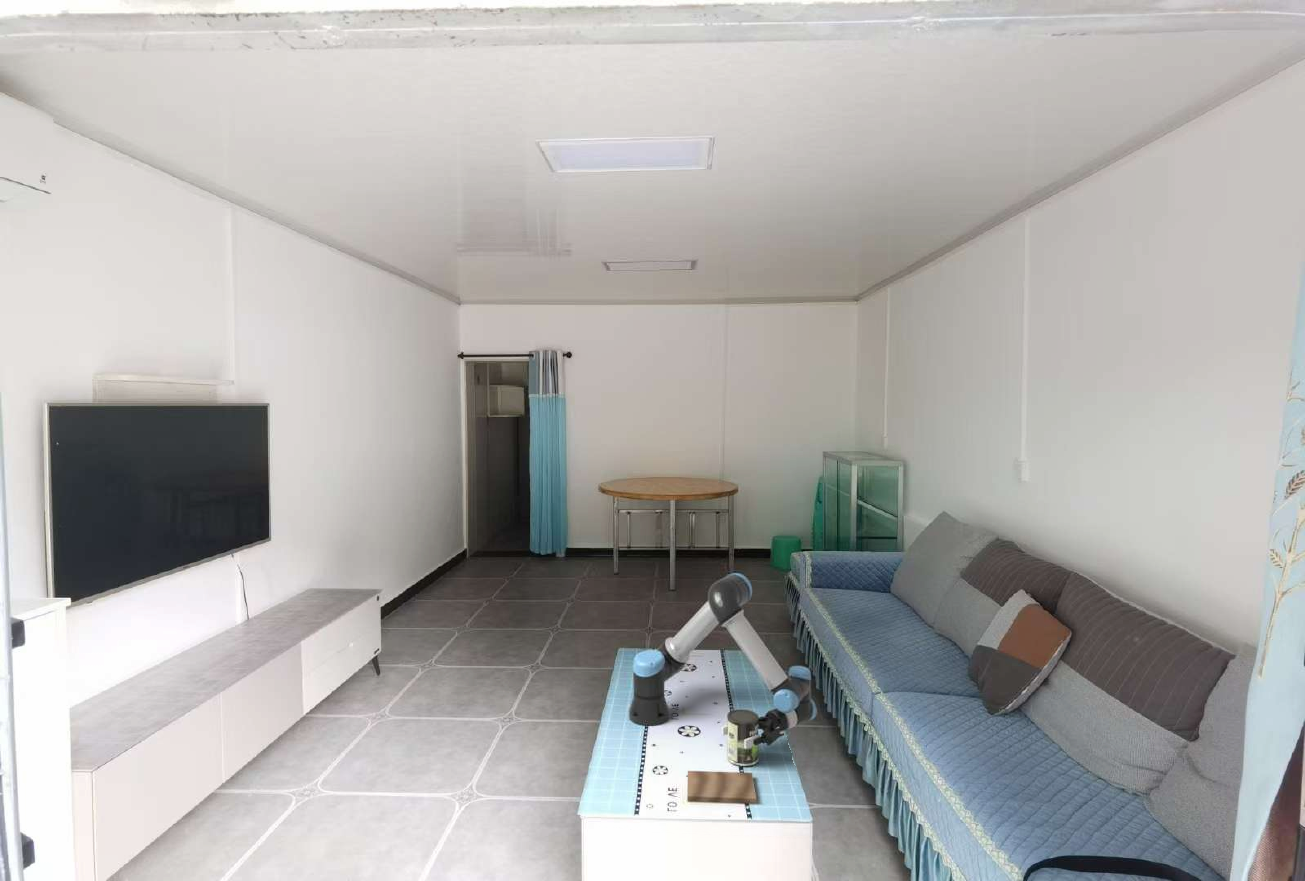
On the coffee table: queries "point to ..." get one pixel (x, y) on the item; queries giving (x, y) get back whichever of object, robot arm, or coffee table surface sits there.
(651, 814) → the coffee table surface
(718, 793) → the walnut board
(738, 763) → the coffee can
